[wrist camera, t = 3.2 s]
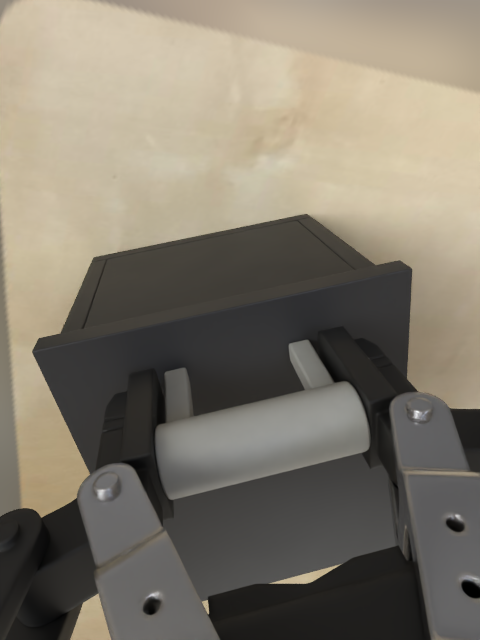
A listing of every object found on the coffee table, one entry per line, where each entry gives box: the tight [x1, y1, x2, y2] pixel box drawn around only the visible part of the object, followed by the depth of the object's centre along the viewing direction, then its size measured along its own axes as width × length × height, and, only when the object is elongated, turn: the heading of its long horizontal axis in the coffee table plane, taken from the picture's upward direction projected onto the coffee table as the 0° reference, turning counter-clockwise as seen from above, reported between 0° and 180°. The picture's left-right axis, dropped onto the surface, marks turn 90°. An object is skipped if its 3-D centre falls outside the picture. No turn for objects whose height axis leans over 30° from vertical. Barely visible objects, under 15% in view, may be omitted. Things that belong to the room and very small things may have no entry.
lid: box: [32, 260, 412, 601], centre depth 15 cm, size 14×12×5 cm
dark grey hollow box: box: [61, 214, 375, 333], centre depth 21 cm, size 14×12×10 cm
